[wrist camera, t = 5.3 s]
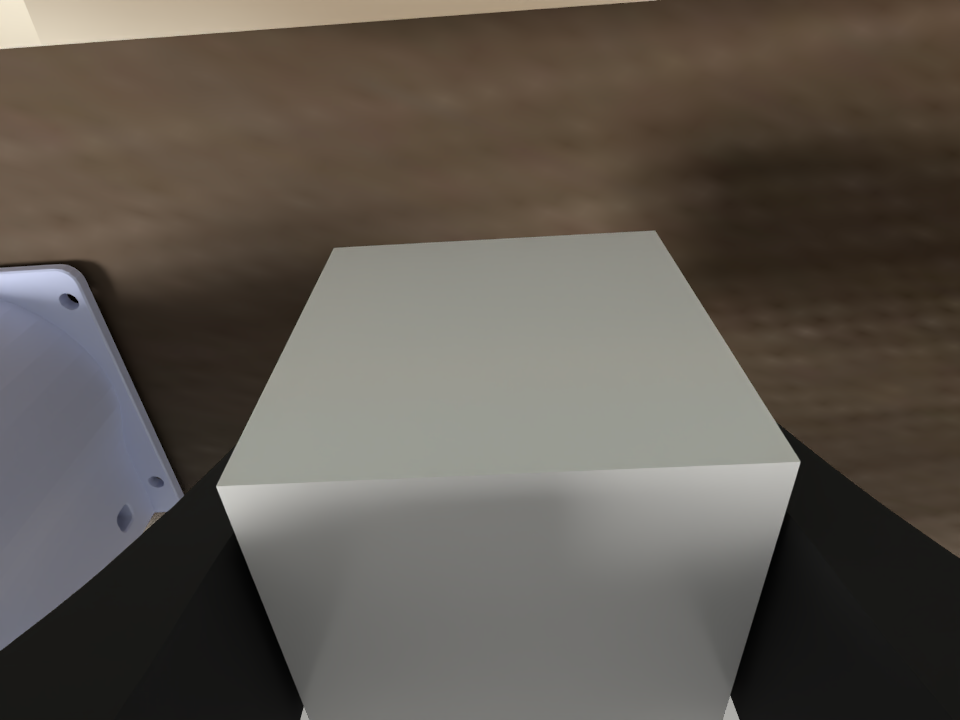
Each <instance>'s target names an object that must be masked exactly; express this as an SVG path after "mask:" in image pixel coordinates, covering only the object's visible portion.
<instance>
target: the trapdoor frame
mask: <svg viewBox="0 0 960 720" xmlns="http://www.w3.org/2000/svg"><path fill="white" fill-rule="evenodd" d="M641 1H654V0H0V49H6V48H19V47H33V46H46V45H60V44H73V43H87V42H100V41H114V40H127V39H141V38H155V37H168V36H182V35H195V34H209V33H222V32H236V31H249V30H263V29H276V28H290V27H303V26H317V25H330V24H344V23H357V22H371V21H384V20H398V19H411V18H425V17H438V16H452V15H465V14H479V13H492V12H506V11H519V10H533V9H546V8H560V7H573V6H587V5H600V4H614V3H627V2H641Z"/></svg>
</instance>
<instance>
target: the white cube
mask: <svg viewBox="0 0 960 720" xmlns="http://www.w3.org/2000/svg"><path fill="white" fill-rule="evenodd" d="M800 462H801V461H800V460H799V458H798V457H797V455H796V454H795V452H794V450H793V449H792V447H791V446H790V444H789V442H788V441H787V439H786V438H785V436H784V434H783V433H782V431H781V430H780V428H779V427H778V425H777V423H776V422H775V420H774V419H773V417H772V415H771V414H770V412H769V411H768V409H767V408H766V406H765V404H764V403H763V401H762V400H761V398H760V396H759V395H758V393H757V392H756V390H755V388H754V387H753V385H752V384H751V382H750V381H749V379H748V377H747V376H746V374H745V373H744V371H743V369H742V368H741V366H740V365H739V363H738V361H737V360H736V358H735V357H734V355H733V354H732V352H731V350H730V349H729V347H728V346H727V344H726V342H725V341H724V339H723V338H722V336H721V335H720V333H719V331H718V330H717V328H716V327H715V325H714V323H713V322H712V320H711V319H710V317H709V315H708V314H707V312H706V311H705V309H704V308H703V306H702V304H701V303H700V301H699V300H698V298H697V296H696V295H695V293H694V292H693V290H692V289H691V287H690V285H689V284H688V282H687V281H686V279H685V277H684V276H683V274H682V273H681V271H680V269H679V268H678V266H677V265H676V263H675V262H674V260H673V258H672V257H671V255H670V254H669V252H668V250H667V249H666V247H665V246H664V244H663V242H662V241H661V239H660V238H659V236H658V235H657V233H656V231H638V232H619V233H601V234H582V235H563V236H545V237H526V238H508V239H489V240H471V241H452V242H433V243H415V244H396V245H378V246H359V247H341V248H334V249H333V251H332V253H331V255H330V257H329V259H328V261H327V263H326V265H325V267H324V269H323V271H322V273H321V275H320V277H319V279H318V281H317V283H316V285H315V287H314V289H313V291H312V293H311V295H310V297H309V299H308V301H307V303H306V305H305V307H304V309H303V311H302V313H301V315H300V318H299V320H298V322H297V324H296V326H295V328H294V330H293V332H292V334H291V336H290V338H289V340H288V342H287V344H286V346H285V348H284V350H283V352H282V354H281V356H280V358H279V360H278V362H277V364H276V366H275V368H274V370H273V372H272V374H271V376H270V378H269V380H268V382H267V384H266V386H265V388H264V390H263V392H262V394H261V396H260V398H259V400H258V403H257V405H256V407H255V409H254V411H253V413H252V415H251V417H250V419H249V421H248V423H247V425H246V427H245V429H244V431H243V433H242V435H241V437H240V439H239V441H238V443H237V445H236V447H235V449H234V451H233V453H232V455H231V457H230V459H229V461H228V463H227V465H226V467H225V469H224V471H223V473H222V475H221V477H220V479H219V481H218V483H217V485H216V488H217V490H218V493H219V495H220V498H221V500H222V503H223V505H224V508H225V510H226V513H227V515H228V518H229V520H230V523H231V525H232V528H233V530H234V533H235V535H236V538H237V540H238V543H239V545H240V548H241V550H242V553H243V555H244V558H245V560H246V563H247V565H248V568H249V570H250V573H251V575H252V578H253V580H254V583H255V585H256V588H257V590H258V593H259V595H260V598H261V600H262V603H263V605H264V608H265V610H266V613H267V615H268V618H269V620H270V623H271V625H272V628H273V630H274V633H275V635H276V638H277V640H278V643H279V645H280V648H281V650H282V653H283V655H284V658H285V660H286V663H287V665H288V668H289V670H290V673H291V675H292V678H293V680H294V683H295V685H296V688H297V690H298V693H299V695H300V698H301V700H302V703H303V705H304V707H305V710H306V713H307V715H308V718H309V720H723V717H724V714H725V710H726V707H727V703H728V700H729V697H730V694H731V691H732V687H733V684H734V681H735V677H736V674H737V671H738V667H739V664H740V661H741V657H742V654H743V651H744V648H745V644H746V641H747V638H748V634H749V631H750V628H751V624H752V621H753V618H754V615H755V611H756V608H757V605H758V601H759V598H760V595H761V591H762V588H763V585H764V581H765V578H766V575H767V572H768V568H769V565H770V562H771V558H772V555H773V552H774V548H775V545H776V542H777V538H778V535H779V532H780V529H781V525H782V522H783V519H784V515H785V512H786V509H787V505H788V502H789V499H790V496H791V492H792V489H793V486H794V482H795V479H796V476H797V472H798V469H799V466H800Z"/></svg>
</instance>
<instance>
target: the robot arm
mask: <svg viewBox="0 0 960 720" xmlns="http://www.w3.org/2000/svg"><path fill="white" fill-rule="evenodd" d="M67 294H71V295H72V296H74V297H75V298H76V299H77V300H78V302H79V303H75V302H73V301H72V300H70V298H69V297H68V296H67ZM776 423H777V422H776ZM777 425H778V427H779V428H780V430H781V431H782V433H783V434H784V436H785V438H786V439H787V441H788V442H789V444H790V446H791V447H792V449H793V450H794V452H795V454H796V455H797V457H798V458H799V460H800V461H801V462H800V466H799V469H798V472H797V476H796V479H795V482H794V486H793V489H792V492H791V496H790V499H789V502H788V505H787V509H786V512H785V515H784V519H783V522H782V525H781V529H780V532H779V535H778V538H777V542H776V545H775V548H774V552H773V555H772V558H771V562H770V565H769V568H768V572H767V575H766V578H765V581H764V585H763V588H762V591H761V595H760V598H759V601H758V605H757V608H756V611H755V615H754V618H753V621H752V624H751V628H750V631H749V634H748V638H747V641H746V644H745V648H744V651H743V654H742V657H741V661H740V664H739V667H738V671H737V674H736V677H735V681H734V684H733V687H732V691H731V694H730V695H731V698H732V700H733V703H734V706H735V708H736V711H737V714H738V716H739V719H740V720H960V558H958V557H957V556H955V555H954V554H952V553H951V552H949V551H948V550H946V549H945V548H943V547H942V546H941V545H939V544H938V543H936V542H935V541H933V540H932V539H931V538H929V537H928V536H926V535H925V534H923V533H922V532H921V531H919V530H918V529H916V528H915V527H913V526H912V525H911V524H909V523H908V522H906V521H905V520H903V519H902V518H901V517H899V516H898V515H896V514H895V513H893V512H892V511H891V510H889V509H888V508H886V507H885V506H884V505H882V504H881V503H880V502H878V501H877V500H876V499H874V498H873V497H872V496H870V495H869V494H867V493H866V492H865V491H863V490H862V489H861V488H859V487H858V486H857V485H855V484H854V483H853V482H851V481H850V480H849V479H847V478H846V477H845V476H844V475H842V474H841V473H840V472H838V471H837V470H836V469H834V468H833V467H832V466H831V465H829V464H828V463H827V462H825V461H824V460H823V459H822V458H820V457H819V456H818V455H817V454H815V453H814V452H813V451H812V450H810V449H809V448H808V447H806V446H805V445H804V444H803V443H801V442H800V441H799V440H798V439H796V438H795V437H794V436H793V435H792V434H790V433H789V432H788V431H787V430H785V429H784V428H783V427H782V426H780V425H779V424H778V423H777ZM236 445H237V444H236ZM236 445H235V446H234V447H233V448H232V449H231V450H230V451H229V452H228V453H227V454H226V455H225V456H224V457H223V458H222V459H221V460H220V461H219V462H218V463H217V464H216V465H215V466H214V467H213V468H212V469H211V470H210V471H209V472H208V473H207V474H206V475H205V476H204V477H203V478H202V479H201V480H200V481H199V482H198V483H197V484H196V485H195V486H194V487H193V488H192V489H191V490H190V491H189V492H187V493H186V494H185V495H184V494H183V492H182V490H181V487H180V485H179V483H178V481H177V479H176V476H175V474H174V472H173V470H172V468H171V466H170V463H169V461H168V459H167V457H166V455H165V452H164V450H163V448H162V446H161V444H160V441H159V439H158V437H157V435H156V433H155V430H154V428H153V426H152V424H151V422H150V419H149V417H148V415H147V413H146V411H145V408H144V406H143V404H142V402H141V400H140V398H139V395H138V393H137V391H136V389H135V387H134V384H133V382H132V380H131V378H130V376H129V373H128V371H127V369H126V367H125V365H124V362H123V360H122V358H121V356H120V354H119V351H118V349H117V347H116V345H115V343H114V340H113V338H112V336H111V334H110V332H109V330H108V327H107V325H106V323H105V321H104V319H103V316H102V314H101V312H100V310H99V308H98V305H97V303H96V301H95V299H94V297H93V294H92V292H91V290H90V288H89V286H88V283H87V281H86V279H85V278H84V276H83V275H82V273H81V272H79V271H78V270H77V269H76V268H74V267H72V266H69V265H65V264H53V265H37V266H21V267H4V268H0V720H300V718H301V714H302V711H303V707H304V705H303V703H302V700H301V698H300V695H299V693H298V690H297V688H296V685H295V683H294V680H293V678H292V675H291V673H290V670H289V668H288V665H287V663H286V660H285V658H284V655H283V653H282V650H281V648H280V645H279V643H278V640H277V638H276V635H275V633H274V630H273V628H272V625H271V623H270V620H269V618H268V615H267V613H266V610H265V608H264V605H263V603H262V600H261V598H260V595H259V593H258V590H257V588H256V585H255V583H254V580H253V578H252V575H251V573H250V570H249V568H248V565H247V563H246V560H245V558H244V555H243V553H242V550H241V548H240V545H239V543H238V540H237V538H236V535H235V533H234V530H233V528H232V525H231V523H230V520H229V518H228V515H227V513H226V510H225V508H224V505H223V503H222V500H221V498H220V495H219V493H218V490H217V488H216V485H217V483H218V481H219V479H220V477H221V475H222V473H223V471H224V469H225V467H226V465H227V463H228V461H229V459H230V457H231V455H232V453H233V451H234V449H235V447H236ZM157 477H159V478H161V479H159V478H157ZM154 512H166V513H165V514H164V515H163V516H162V517H161V518H160V519H158V520H157V521H156V522H155V523H154V524H153V525H152V526H151V527H150V528H148V529H147V530H146V531H145V532H144V533H143V531H144V530H145V528H146V526H147V524H148V523H149V521H150V519H151V517H152V516H153V514H154ZM142 533H143V534H142Z"/></svg>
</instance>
